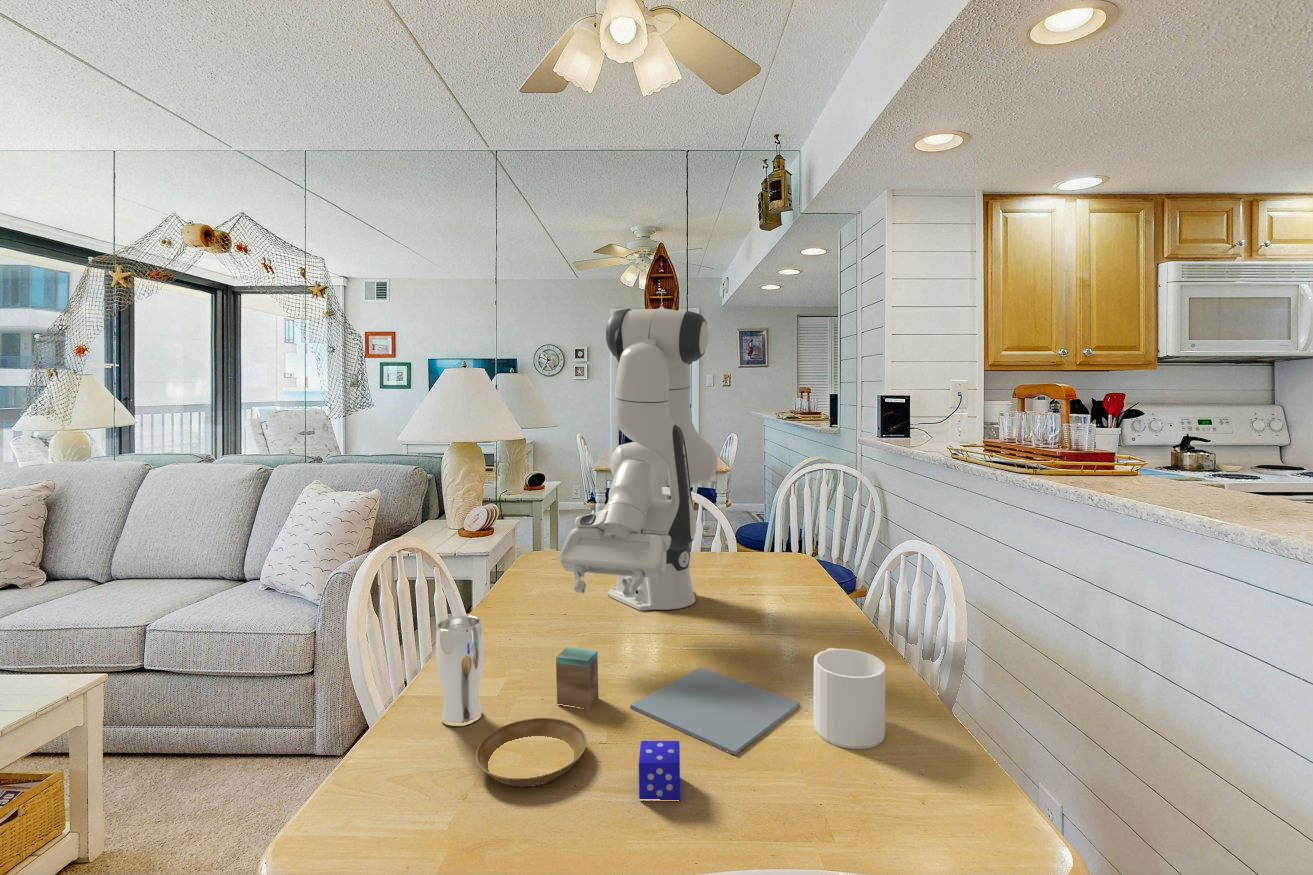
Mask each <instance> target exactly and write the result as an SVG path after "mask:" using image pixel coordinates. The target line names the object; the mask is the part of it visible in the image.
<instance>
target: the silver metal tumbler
mask: <svg viewBox="0 0 1313 875" xmlns="http://www.w3.org/2000/svg"><path fill="white" fill-rule="evenodd" d="M435 627H436V631H435V633H436V635H435V661H436V666H437V672H438V676H439V677H438V678H439V682H440V685H441V691H442V699H443V700H442V701H443V702H442V712H441V716H442V719H443V720H444V721H446V722H450V723H464V722H468V721H470V720H473V719H475V718H477V717H478V716H479V715H480V714H481V713H482V714H483V708H482V704H481V700H480V681H481V676H482V668H483V660H484V640H483V630H482V629H483V628H482V620H481V618H480V617H477V616H476V615H475V616H474V615H456V616H452V617H447V618H444V619H442V620H440V621H439V622H438V623H437V624H436V626H435Z"/></svg>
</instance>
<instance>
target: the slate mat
mask: <svg viewBox="0 0 1313 875" xmlns="http://www.w3.org/2000/svg"><path fill="white" fill-rule="evenodd" d="M629 707H630V709H631V710H633V711H636V712H637V713H640V714H641V715H644V716H646V715H647V717H648V718H651V719H652V720H655V721H657V720H658V721H657V722H660V723H662V724H665V725H667V726H668V725H669V727H671V728H673V729H674V730H675V729H676V730H678V731H679V732H682V733H684V734H687V735H688V736H690V735H691V736H690V737H692V736H693V738H695V739H697V738H698V739H697V740H699V739H700V740H699V741H701V740H702V742H703V741H705V742H704V743H706V742H707V743H706V744H708V743H710V744H712V745H714V746H716V747H715V748H717V747H718V748H717V749H719V748H721V749H723V750H725V751H728V752H729V753H728V752H727V753H728V754H730V753H731V754H730V755H732V754H734V755H735V756H737V755H738V754H739V753H741V752H742V751H743V750H744V749H746V748H747V747H748V746H749V745H751V744H752V743H753V742H755V741H756V740H757V739H759V738H760V737H761V736H763V735H764V734H766V732H768V731H769V730H771V729H772V728H773V727H774V726H776V725H777V724H779V723H780V722H781V721H782V720H783V719H785V718H786V717H788V716H789V715H790V714H792V713H793V712H794V711H795V710H797V709H798V708H799V707H801V702H799V701H798V700H795V699H791V698H789V697H785V696H783V695H780V694H777V693H774V692H772V691H768V690H767V689H764V688H761V687H758V686H755V685H752V684H750V683H747V682H744V681H741V680H737V679H735V678H733V677H729V676H727V675H724V674H721V673H718V672H715V671H713V670H710V669H708V668H707V669H706V668H704V667H701V666H699V667H697V668H696V669H693V670H692V671H690V672H688V673H686V674H685V675H683V676H681V677H678V678H677V679H675V680H673V681H672V682H670V683H667V684H666V685H663V686H662V687H661V688H658V689H657V690H655V691H653V692H651V693H649V694H647V695H646V696H643V697H642V698H640V699H638V700H636V701H634V702H633V703H630V705H629ZM710 744H709V745H710ZM712 745H711V746H712ZM714 746H713V747H714ZM745 747H746V748H745ZM721 749H720V750H721ZM742 749H743V750H742ZM723 750H722V751H723ZM741 750H742V751H741ZM725 751H724V752H725ZM738 752H739V753H738ZM737 753H738V754H737ZM734 755H733V756H734Z"/></svg>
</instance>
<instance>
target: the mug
mask: <svg viewBox="0 0 1313 875" xmlns="http://www.w3.org/2000/svg"><path fill="white" fill-rule="evenodd" d="M813 729H814V731H815V733H816V734H817V735H818V736H819V737H820V738H821V739H822V740H824V741H826V742H827V743H828V744H832V745H833V746H835V747H840V748H843V749H849V750H866V749H867V748H868V749H872V748H874V747H877V746H879V745H880V744H881V743H882V742H883V741H884V739H885V736H886V664H885V663H884V661H883V660H881V659H880V658H879V657H878V656H875V655H873V654H871V653H868V652H864V651H861V650H857V649H856V650H855V649H850V648H849V649H848V648H836V647H829V648H828V647H827V648H826V650H825V649H824V650H821V651H819V652H818V653H816V654H815V655H814V656H813Z"/></svg>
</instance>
